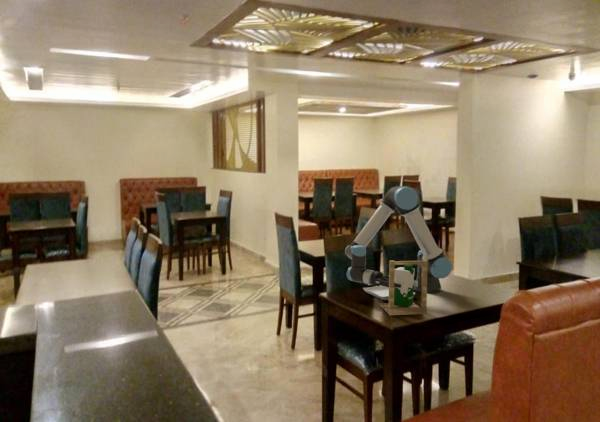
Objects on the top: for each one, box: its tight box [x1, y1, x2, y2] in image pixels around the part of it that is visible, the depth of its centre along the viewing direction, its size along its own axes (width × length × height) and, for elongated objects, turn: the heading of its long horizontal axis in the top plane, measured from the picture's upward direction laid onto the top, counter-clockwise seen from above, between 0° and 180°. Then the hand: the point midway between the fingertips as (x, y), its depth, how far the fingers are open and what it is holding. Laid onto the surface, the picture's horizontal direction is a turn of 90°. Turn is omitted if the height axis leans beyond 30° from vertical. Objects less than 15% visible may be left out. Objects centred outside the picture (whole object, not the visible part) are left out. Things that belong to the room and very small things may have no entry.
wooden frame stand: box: [379, 259, 428, 316], centre depth 235 cm, size 18×18×26 cm
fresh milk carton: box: [394, 264, 416, 308], centre depth 236 cm, size 9×9×20 cm
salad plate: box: [362, 286, 416, 301], centre depth 261 cm, size 21×21×3 cm
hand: (412, 285), depth 233 cm, fingers closed on fresh milk carton, 8 cm apart
